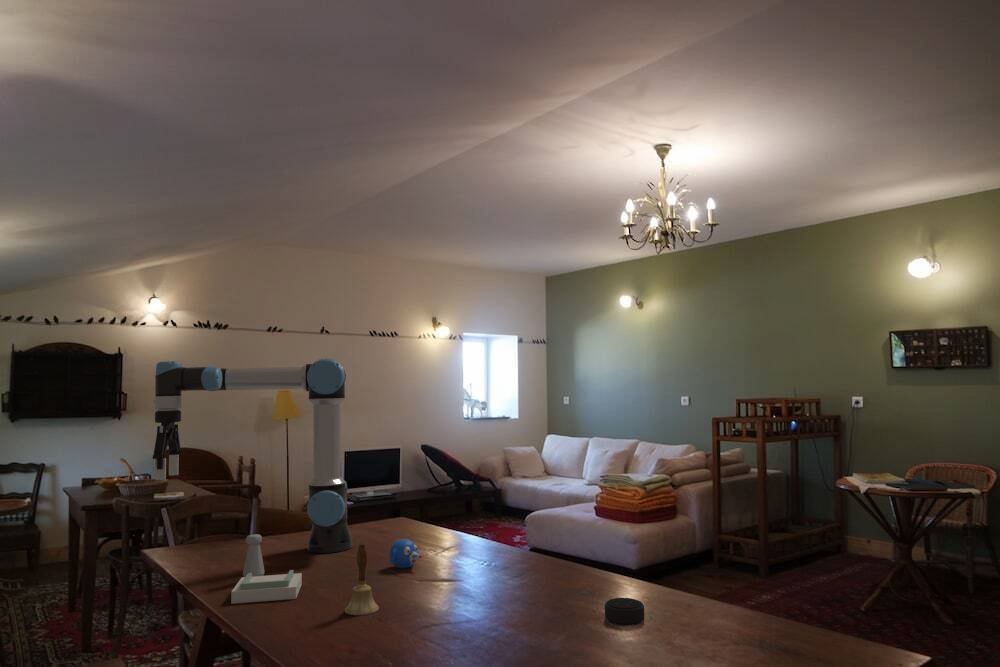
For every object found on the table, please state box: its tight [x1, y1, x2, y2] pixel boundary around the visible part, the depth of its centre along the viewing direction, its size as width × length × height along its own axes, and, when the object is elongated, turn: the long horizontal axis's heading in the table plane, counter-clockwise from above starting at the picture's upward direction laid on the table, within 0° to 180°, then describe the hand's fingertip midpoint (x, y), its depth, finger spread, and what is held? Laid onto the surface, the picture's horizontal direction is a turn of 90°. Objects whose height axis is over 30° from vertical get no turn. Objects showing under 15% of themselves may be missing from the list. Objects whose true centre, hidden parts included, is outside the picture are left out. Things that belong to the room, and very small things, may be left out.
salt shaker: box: [242, 533, 265, 577], centre depth 195 cm, size 6×6×13 cm
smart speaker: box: [604, 597, 646, 626], centre depth 155 cm, size 9×9×4 cm
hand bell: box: [344, 542, 380, 616], centre depth 167 cm, size 8×8×16 cm
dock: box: [230, 569, 303, 604], centre depth 182 cm, size 16×14×4 cm
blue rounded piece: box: [388, 538, 423, 569], centre depth 205 cm, size 12×12×8 cm
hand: (167, 477), depth 215 cm, fingers open, 13 cm apart
